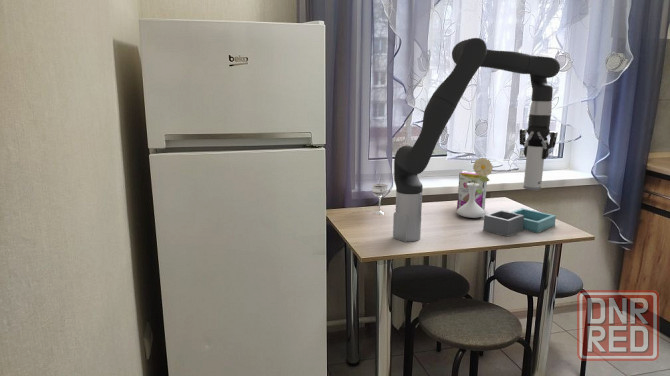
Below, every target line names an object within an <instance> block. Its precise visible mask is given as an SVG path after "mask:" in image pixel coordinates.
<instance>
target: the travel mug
mask: <svg viewBox="0 0 670 376" xmlns="http://www.w3.org/2000/svg"><path fill="white" fill-rule="evenodd" d="M546 138H547V139H548V136H547V137H546ZM546 138H545V139H544V141H546ZM543 149H544V148H543V145H542V139H540V140H532V139H531V140H528V147H527V157H525V158H526V159H525V169H524V179H523V189H525V190H528V191H529V190H530V191H540V190H541V189H542V182H543V172H544V165H545V164H544V163H545V159H542V153H543Z"/></svg>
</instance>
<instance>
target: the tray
mask: <svg viewBox="0 0 670 376" xmlns="http://www.w3.org/2000/svg"><path fill="white" fill-rule="evenodd" d="M511 212H512V213H516V214H520V215H524V222H523V230H524V231H529V232H532V233H536V234H538V233H541V232H542V231H545V230H548V229H551V228H552V227H554V226H556V219H557V215H554V214H550V213H545V212H540V211H536V210H531V209H527V208H519V209H516V210H513V211H511Z"/></svg>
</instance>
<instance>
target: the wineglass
mask: <svg viewBox="0 0 670 376" xmlns="http://www.w3.org/2000/svg"><path fill="white" fill-rule="evenodd" d="M371 186H372V189H371V192H372V194H373V196H375V197H376V198H378V210H376V211H374V212H373V214H375V215H384V213H385V214H386V212H385V211H382V210H381V200H382V198H384V197H385V196H386V195H388V193H389V188H388V184H385V183H374V184H372V185H371Z"/></svg>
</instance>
